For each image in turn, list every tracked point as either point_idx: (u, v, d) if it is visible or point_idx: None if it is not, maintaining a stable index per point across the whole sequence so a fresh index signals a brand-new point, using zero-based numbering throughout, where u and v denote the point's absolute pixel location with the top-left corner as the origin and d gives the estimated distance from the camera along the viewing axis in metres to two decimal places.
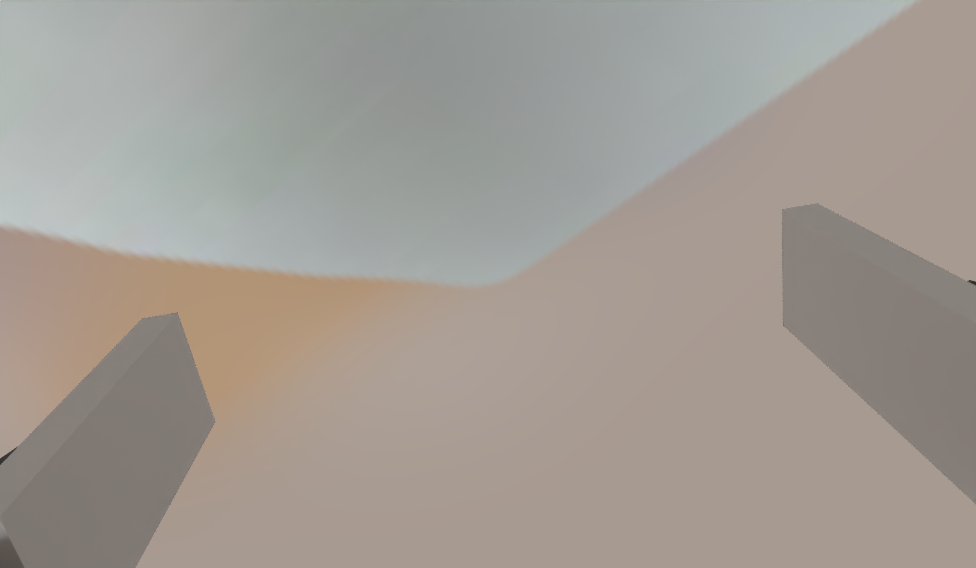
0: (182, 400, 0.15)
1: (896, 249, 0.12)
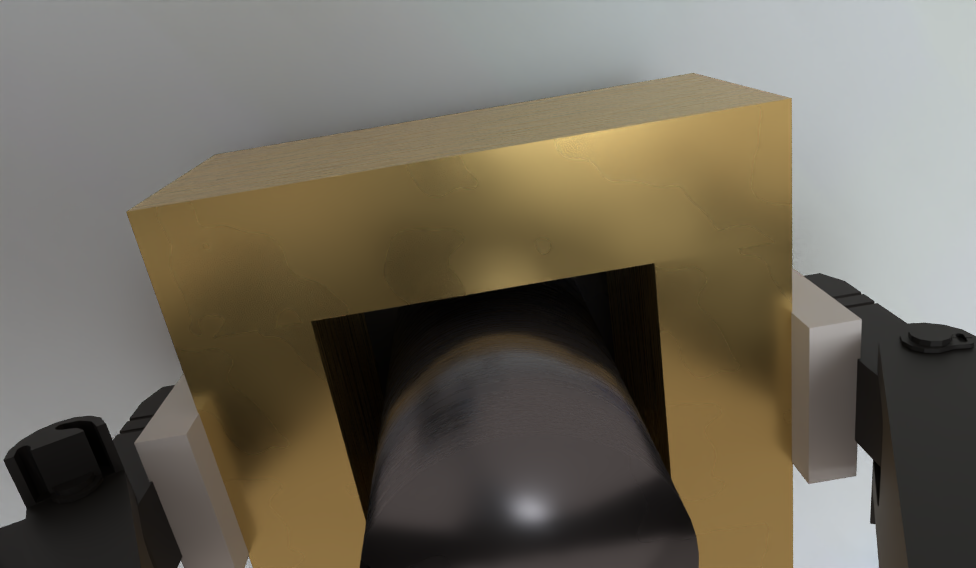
0: None
1: None
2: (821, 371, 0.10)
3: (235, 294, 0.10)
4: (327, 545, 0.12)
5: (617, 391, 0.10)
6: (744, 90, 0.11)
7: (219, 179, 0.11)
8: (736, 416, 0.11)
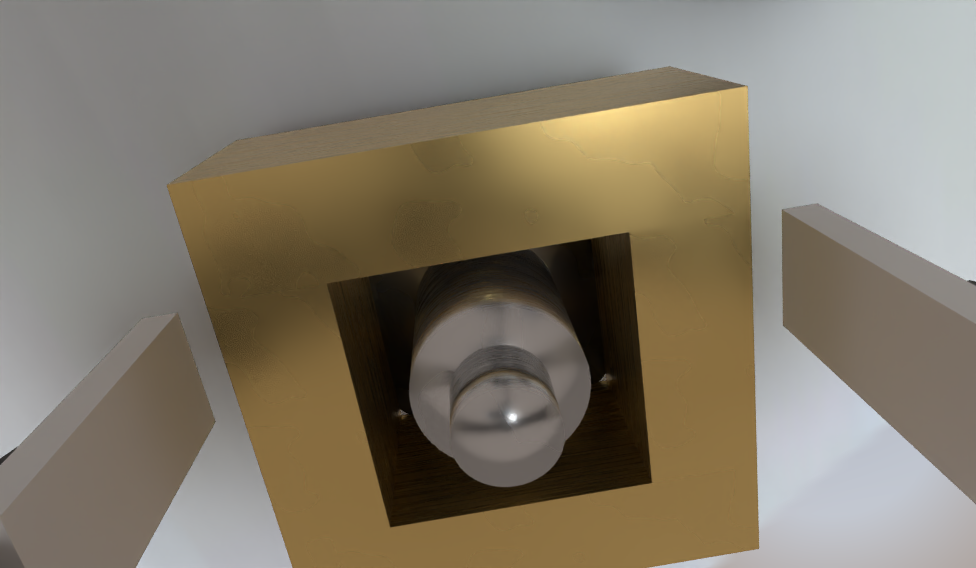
0: (182, 400, 0.15)
1: (896, 249, 0.12)
2: None
3: (260, 259, 0.11)
4: (339, 487, 0.13)
5: None
6: (710, 80, 0.12)
7: (245, 159, 0.12)
8: (704, 370, 0.13)
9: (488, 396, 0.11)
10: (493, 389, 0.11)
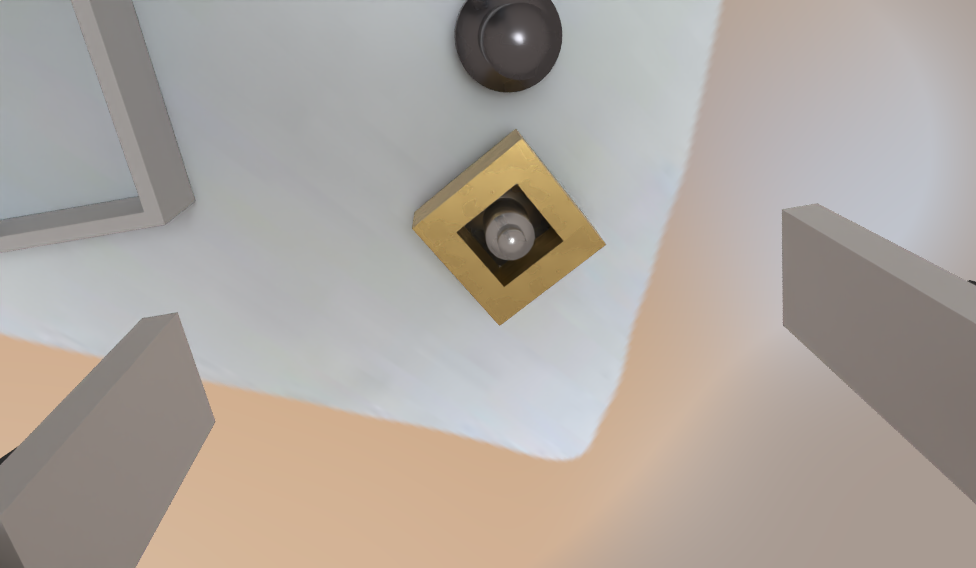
0: (182, 400, 0.15)
1: (896, 249, 0.12)
2: None
3: (439, 234, 0.46)
4: (486, 282, 0.48)
5: None
6: (518, 136, 0.46)
7: (423, 214, 0.47)
8: (556, 205, 0.46)
9: (502, 236, 0.45)
10: (502, 234, 0.45)
